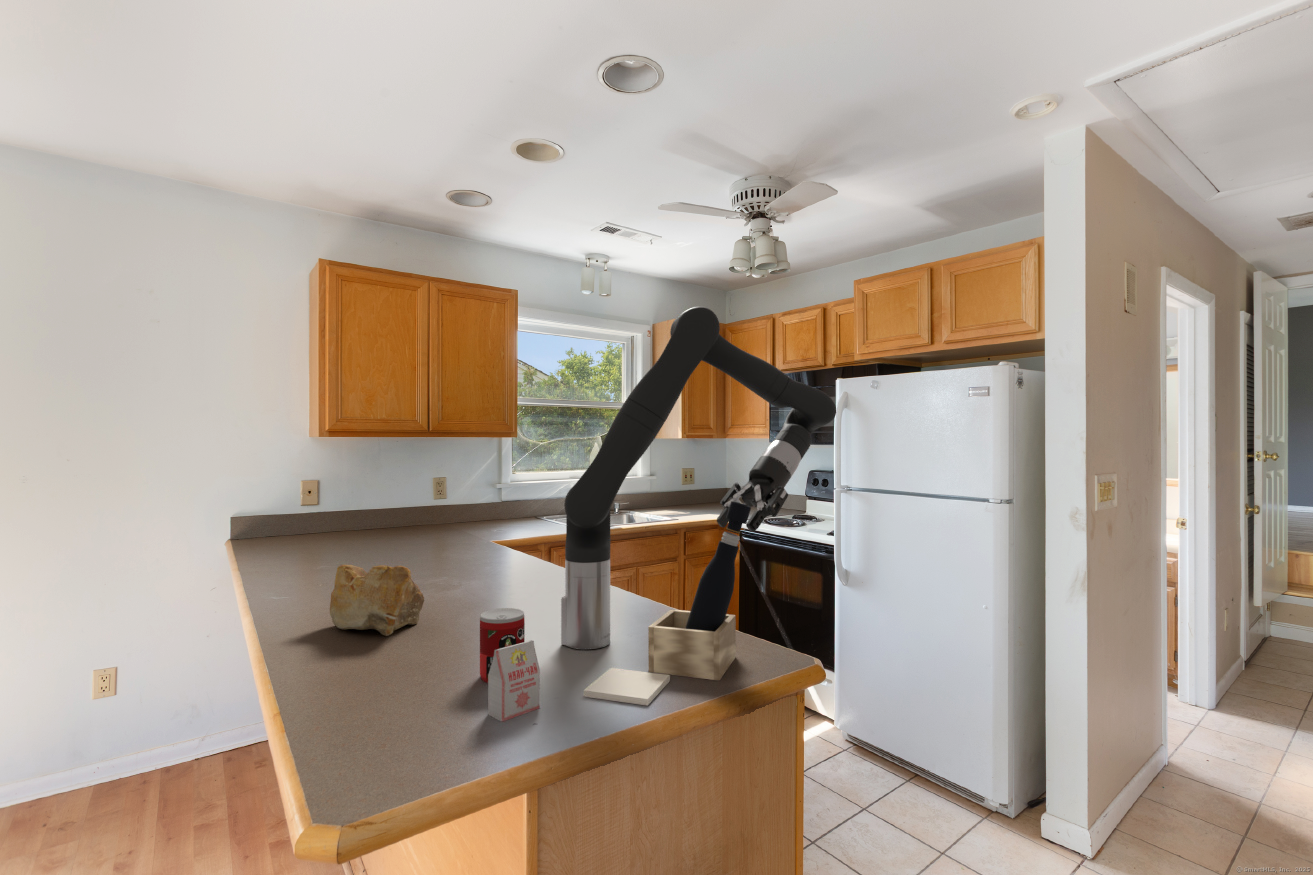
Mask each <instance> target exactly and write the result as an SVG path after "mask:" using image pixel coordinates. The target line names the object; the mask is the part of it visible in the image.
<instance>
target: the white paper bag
mask: <svg viewBox="0 0 1313 875" xmlns="http://www.w3.org/2000/svg"><path fill="white" fill-rule="evenodd" d="M487 686H488V687H487V688H488V689H487V695H488V696H487V697H488V700H487V702H488V705H487V706H488V707H487V713H488V715H489V716H490V717H493V718H494V719H496V720H498V721H499V722H505V721H507V720H510V719H513V718H516V717H518V716H522V715H524V714H527V713H530V712H532V711H535V710H538V709H540V708H541V707H540V706H541V704H540V703H541V702H540V701H541V699H540V698H541V687H540V686H541V668H540V665H539V661H538V656H537V652H536V648H535V641H534V640H528V641H524V642H523V643H520V644H516V645H512V646H508V647H504V648H501V649H497V650H495V652H494V657H493V661H492V665H491V668H490V671H489V674H488V683H487Z"/></svg>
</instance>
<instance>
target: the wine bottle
mask: <svg viewBox="0 0 1313 875" xmlns="http://www.w3.org/2000/svg"><path fill="white" fill-rule="evenodd" d="M741 503H742V502H741ZM741 503H738V502H734V501H731V503H730V507H729V510H728V513H727V516H726V518H728V519H729V522H728V523H727V525H726V527H725V528H726V530H727V531H723V533H722V537H721V540H719V542H718V545H717V548H716V551H715V554H714V555H713V557H712V559H711V560H710V561H709V563H708V564H707V566H706V567H705V568H704V571H703V573H702V575H701V577H700V580H699V582H698V586H697V588H696V592H695V595H694V598H693V602H692V605H691V609H690V610H689V611H690V615H689V618H688V621H687V624H686V628H685V629H693V630H703V631H714V632H715V631H716V630H717V629H718V628H719V627H720V626H721V624H722V623H723V622H724V620H725V617H726V614H728V610H729V606H730V603H731V600H732V596H733V593H734V590H735V588H734V587H735V579H736V569H735V568H736V563H735V561H736V558H737V554H738V552H739V546H738V545H739V541H741V538H740V537H741V536H739V534H740V533H741V529H742V526H743V524H747V522H748V521H749V516H750V512H751V509H752V507H750V506H747V505H744V504H741Z"/></svg>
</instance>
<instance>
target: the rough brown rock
mask: <svg viewBox="0 0 1313 875" xmlns="http://www.w3.org/2000/svg"><path fill="white" fill-rule="evenodd" d="M424 603H425V596H424V594H423V593H422V591H421V589H420V588H419V585H418V584H416V583H415V582H414V580H413V579H412V573H411V570H410V569H409V568H408V567H406V566H403V565H396V566H389V565H384V564H383V565H382V564H381V565H375V566H372V567H371V568H370V569H369V570H368V572H366V570H365V569H364V568H363V567H359V566H356V565H353V564H340V565H338V566H337V568H336V573H335V579H334V587H333V590H332V591H331V593H330V603H329V615H330V618H331V620H332V621H331V622H332V623H333V625H334V626H336V628H338V629H340V630H358V631H360V630H361V631H365V630H370V629H371V630H376V631H377V632H379V634H381V635H383V636H386V637H388V636H390V635H392V634H394V631H396V630H398V629H401V628H402V627H405V626H406V625H407V626H413V625H417V624H418V622H419V620H420V613H421V611H422V608H423V606H424Z"/></svg>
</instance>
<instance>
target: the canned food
mask: <svg viewBox="0 0 1313 875" xmlns="http://www.w3.org/2000/svg"><path fill="white" fill-rule="evenodd" d="M525 625H526V624H525V611H523V610H522V609H519V608H514V607H513V608H512V607H505V608H504V607H503V608H493V609H489V610H486V611H483V612H482V613H480V616H479V675H480V679H481V681H483V682H484V683H487V684H488V674H489V671H490V668H491V665H492V661H493V657H494V652H495V650H497V649H501V648H504V647H508V646H512V645H516V644H520V643H523V642H526V641H525V635H526V634H525V627H526V626H525Z"/></svg>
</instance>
